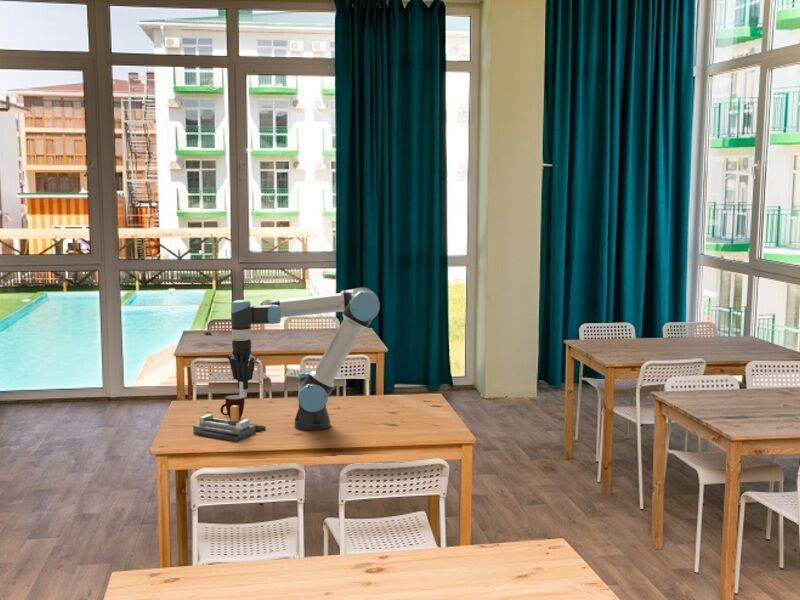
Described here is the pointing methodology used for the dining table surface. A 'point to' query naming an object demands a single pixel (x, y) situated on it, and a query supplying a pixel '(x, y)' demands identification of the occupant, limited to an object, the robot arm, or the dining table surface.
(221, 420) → the gray slotted base
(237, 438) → the cord
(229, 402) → the mug
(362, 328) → the robot arm
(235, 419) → the lever
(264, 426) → the cord
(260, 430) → the grey rod
